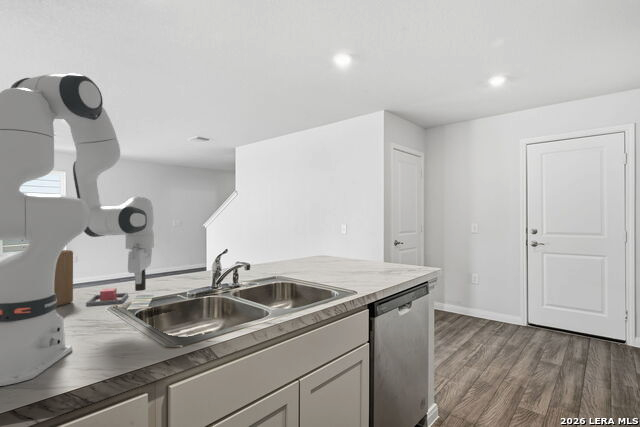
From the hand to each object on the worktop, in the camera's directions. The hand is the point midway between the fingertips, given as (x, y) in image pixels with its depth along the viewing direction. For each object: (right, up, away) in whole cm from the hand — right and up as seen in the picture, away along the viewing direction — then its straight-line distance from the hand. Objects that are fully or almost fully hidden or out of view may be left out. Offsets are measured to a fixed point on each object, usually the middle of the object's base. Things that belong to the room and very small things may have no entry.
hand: (140, 282), depth 116 cm
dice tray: (-17, -10, +9) cm, 21 cm away
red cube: (-17, -9, +9) cm, 21 cm away
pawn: (0, -3, 0) cm, 3 cm away
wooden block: (-36, -10, +5) cm, 37 cm away
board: (-4, -10, +8) cm, 13 cm away
